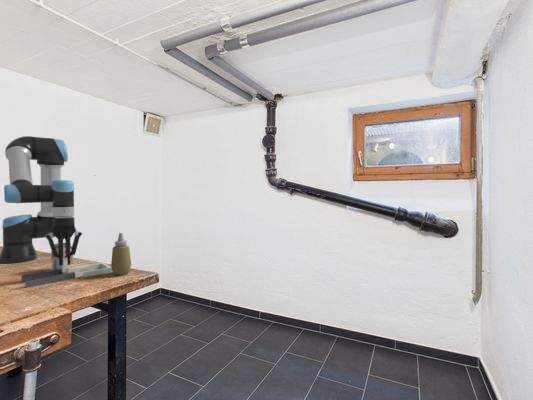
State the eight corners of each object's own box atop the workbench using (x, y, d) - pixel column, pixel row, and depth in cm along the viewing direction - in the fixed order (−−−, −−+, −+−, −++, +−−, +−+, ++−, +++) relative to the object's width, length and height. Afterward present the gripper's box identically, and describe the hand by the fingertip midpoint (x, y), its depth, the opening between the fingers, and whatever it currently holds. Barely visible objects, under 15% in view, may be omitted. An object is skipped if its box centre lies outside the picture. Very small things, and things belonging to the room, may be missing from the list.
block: (64, 275, 125) (64, 266, 125) (86, 271, 131) (85, 262, 131) (68, 278, 121) (68, 268, 121) (89, 274, 127) (89, 265, 127)
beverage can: (64, 266, 139) (64, 241, 139) (79, 267, 138) (79, 242, 137) (46, 271, 130) (46, 245, 130) (62, 272, 129) (62, 246, 128)
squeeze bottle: (127, 270, 133) (127, 231, 133) (134, 273, 128) (133, 233, 127) (108, 273, 128) (107, 233, 127) (114, 277, 122) (113, 235, 121)
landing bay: (75, 271, 131) (75, 267, 131) (103, 266, 139) (102, 262, 139) (83, 277, 122) (83, 272, 122) (112, 271, 130) (112, 267, 130)
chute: (21, 281, 116) (21, 275, 116) (68, 273, 128) (68, 267, 128) (25, 287, 109) (25, 281, 109) (75, 278, 121) (75, 272, 120)
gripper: (46, 218, 114) (47, 277, 115) (83, 216, 124) (84, 271, 124) (42, 217, 119) (43, 273, 120) (79, 215, 129) (80, 267, 130)
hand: (64, 272), depth 122 cm, fingers closed
